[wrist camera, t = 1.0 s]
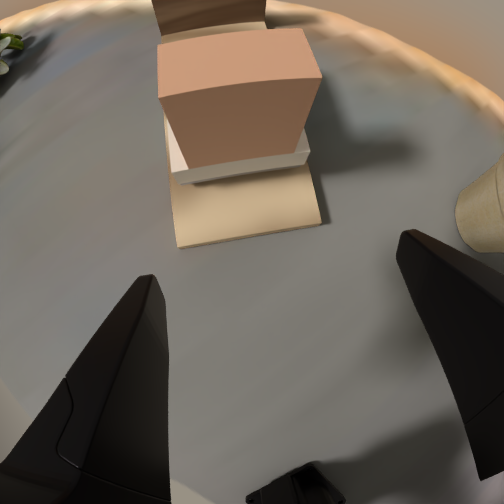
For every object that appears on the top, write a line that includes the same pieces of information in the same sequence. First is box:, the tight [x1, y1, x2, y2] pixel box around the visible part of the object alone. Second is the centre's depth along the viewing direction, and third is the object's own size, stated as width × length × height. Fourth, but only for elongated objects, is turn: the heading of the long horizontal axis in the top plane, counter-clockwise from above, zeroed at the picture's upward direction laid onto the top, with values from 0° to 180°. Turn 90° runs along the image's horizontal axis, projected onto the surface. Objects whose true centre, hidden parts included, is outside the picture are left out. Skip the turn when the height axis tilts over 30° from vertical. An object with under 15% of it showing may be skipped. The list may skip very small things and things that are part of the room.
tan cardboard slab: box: [152, 0, 322, 249], centre depth 20 cm, size 23×10×6 cm, turn 10°
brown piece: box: [158, 28, 322, 186], centre depth 16 cm, size 10×8×11 cm
